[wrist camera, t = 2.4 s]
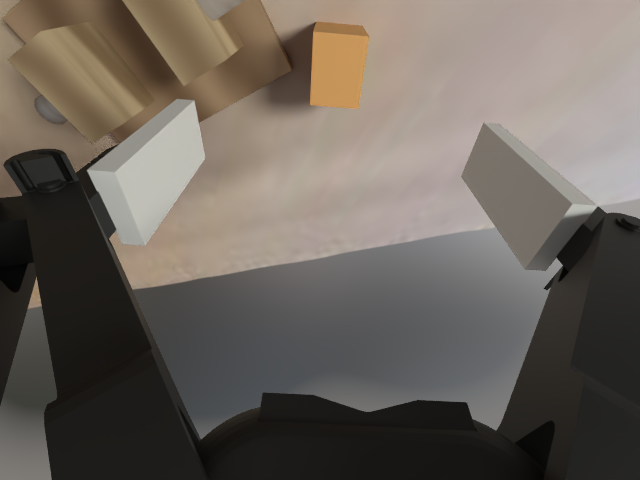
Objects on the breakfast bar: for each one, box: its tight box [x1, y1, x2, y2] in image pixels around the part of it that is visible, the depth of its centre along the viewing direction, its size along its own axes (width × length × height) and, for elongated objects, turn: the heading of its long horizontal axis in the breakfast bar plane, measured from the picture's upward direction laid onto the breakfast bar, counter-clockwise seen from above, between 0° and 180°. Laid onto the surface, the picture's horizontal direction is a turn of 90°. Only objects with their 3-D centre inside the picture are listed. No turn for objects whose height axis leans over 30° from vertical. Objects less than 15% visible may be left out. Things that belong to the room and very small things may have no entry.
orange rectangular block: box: [310, 22, 369, 109], centre depth 25 cm, size 5×4×6 cm
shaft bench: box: [2, 0, 293, 143], centre depth 25 cm, size 20×14×7 cm
